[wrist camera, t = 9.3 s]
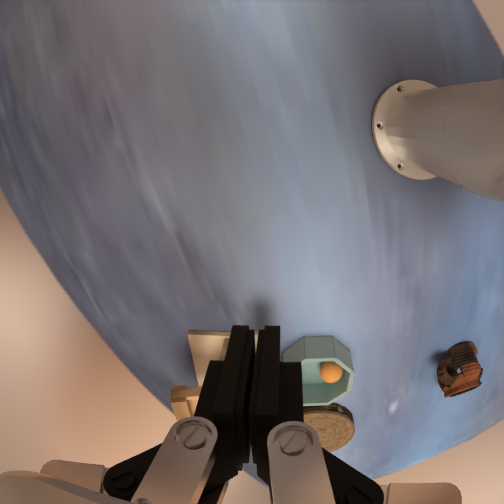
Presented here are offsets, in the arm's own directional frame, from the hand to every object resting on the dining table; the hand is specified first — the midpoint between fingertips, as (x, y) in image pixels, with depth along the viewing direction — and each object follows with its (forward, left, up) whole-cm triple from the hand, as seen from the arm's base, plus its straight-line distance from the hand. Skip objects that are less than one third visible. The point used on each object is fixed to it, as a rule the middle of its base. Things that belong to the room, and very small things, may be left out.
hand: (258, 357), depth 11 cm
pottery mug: (-32, +30, -29) cm, 53 cm away
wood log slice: (-7, +45, -30) cm, 54 cm away
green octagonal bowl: (-6, +27, -29) cm, 40 cm away
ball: (-8, +27, -27) cm, 39 cm away
